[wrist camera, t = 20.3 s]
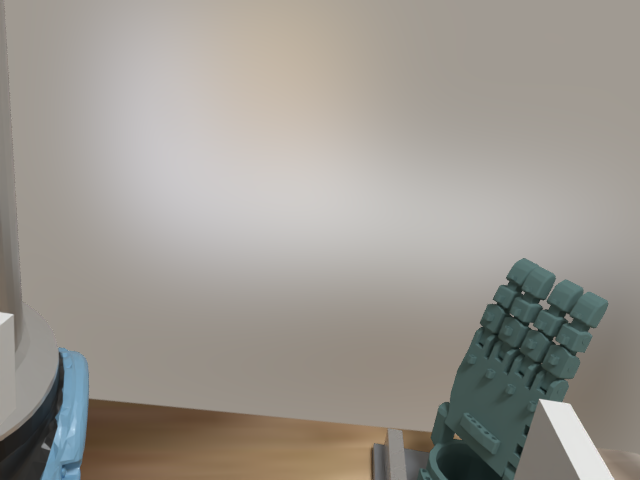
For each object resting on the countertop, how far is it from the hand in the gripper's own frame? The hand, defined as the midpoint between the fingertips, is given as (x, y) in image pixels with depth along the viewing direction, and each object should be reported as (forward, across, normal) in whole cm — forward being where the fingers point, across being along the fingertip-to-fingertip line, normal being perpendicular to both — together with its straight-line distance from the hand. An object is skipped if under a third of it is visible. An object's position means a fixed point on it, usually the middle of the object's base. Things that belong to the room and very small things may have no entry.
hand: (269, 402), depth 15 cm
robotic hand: (+31, +18, -31) cm, 48 cm away
